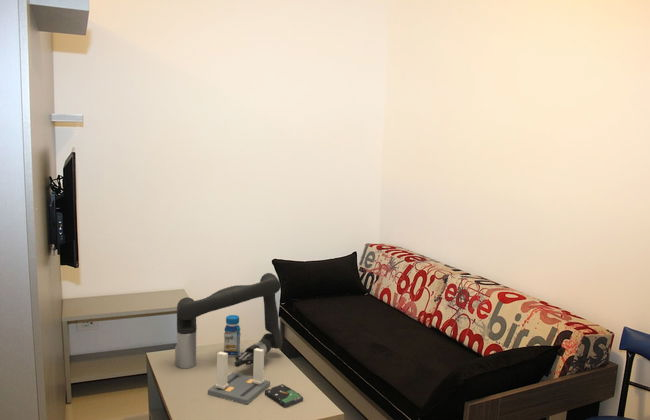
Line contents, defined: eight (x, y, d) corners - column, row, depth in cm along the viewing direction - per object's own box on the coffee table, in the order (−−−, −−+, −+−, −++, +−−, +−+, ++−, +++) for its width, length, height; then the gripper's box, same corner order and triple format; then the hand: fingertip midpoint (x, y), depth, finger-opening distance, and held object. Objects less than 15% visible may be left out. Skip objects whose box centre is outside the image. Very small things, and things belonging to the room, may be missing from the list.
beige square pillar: (215, 387, 233) (215, 353, 231) (220, 383, 236) (220, 350, 234) (223, 389, 231) (224, 355, 229) (228, 385, 234) (229, 352, 232)
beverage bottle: (243, 354, 275) (244, 317, 273) (230, 358, 269) (230, 320, 266) (233, 349, 281) (234, 313, 278) (220, 353, 275) (221, 316, 272)
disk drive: (263, 396, 233) (285, 409, 222) (264, 390, 232) (285, 402, 222) (282, 389, 240) (303, 401, 229) (282, 383, 239) (303, 395, 229)
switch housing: (207, 394, 231) (207, 389, 231) (233, 376, 249) (233, 372, 249) (247, 404, 223) (247, 400, 223) (270, 385, 241) (270, 381, 241)
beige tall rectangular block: (251, 382, 238) (252, 350, 236) (256, 379, 241) (256, 347, 239) (260, 384, 237) (261, 352, 235) (264, 381, 240) (265, 349, 238)
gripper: (244, 342, 261) (224, 354, 245) (267, 347, 256) (248, 360, 240) (244, 356, 262) (224, 369, 246) (267, 361, 257) (248, 375, 241)
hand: (236, 364), depth 243 cm, fingers closed
